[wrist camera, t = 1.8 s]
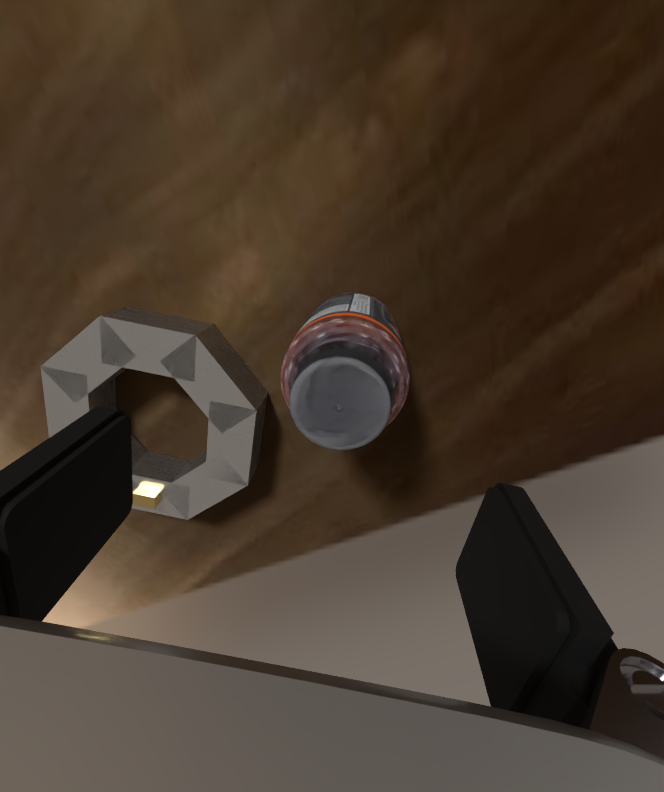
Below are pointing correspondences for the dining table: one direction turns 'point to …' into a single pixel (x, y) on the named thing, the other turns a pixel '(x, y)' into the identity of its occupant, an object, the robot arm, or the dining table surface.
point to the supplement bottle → (346, 372)
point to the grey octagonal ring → (196, 373)
